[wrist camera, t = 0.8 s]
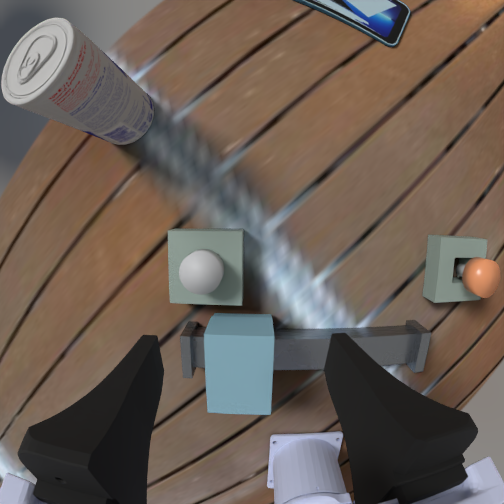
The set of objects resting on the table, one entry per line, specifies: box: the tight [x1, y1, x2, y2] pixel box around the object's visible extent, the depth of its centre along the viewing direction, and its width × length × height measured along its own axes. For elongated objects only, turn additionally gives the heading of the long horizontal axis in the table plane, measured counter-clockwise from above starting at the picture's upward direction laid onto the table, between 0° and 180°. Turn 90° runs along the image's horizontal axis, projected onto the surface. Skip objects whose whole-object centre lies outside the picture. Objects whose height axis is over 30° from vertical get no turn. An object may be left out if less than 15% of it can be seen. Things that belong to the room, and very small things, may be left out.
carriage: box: [204, 313, 274, 415], centre depth 26 cm, size 7×5×6 cm
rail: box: [180, 320, 431, 378], centre depth 27 cm, size 4×22×4 cm, turn 89°
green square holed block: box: [422, 235, 487, 303], centre depth 27 cm, size 6×6×2 cm
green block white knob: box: [168, 229, 244, 305], centre depth 26 cm, size 6×6×5 cm
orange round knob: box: [456, 257, 500, 298], centre depth 24 cm, size 3×3×4 cm
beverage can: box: [2, 18, 154, 145], centre depth 19 cm, size 6×6×15 cm
